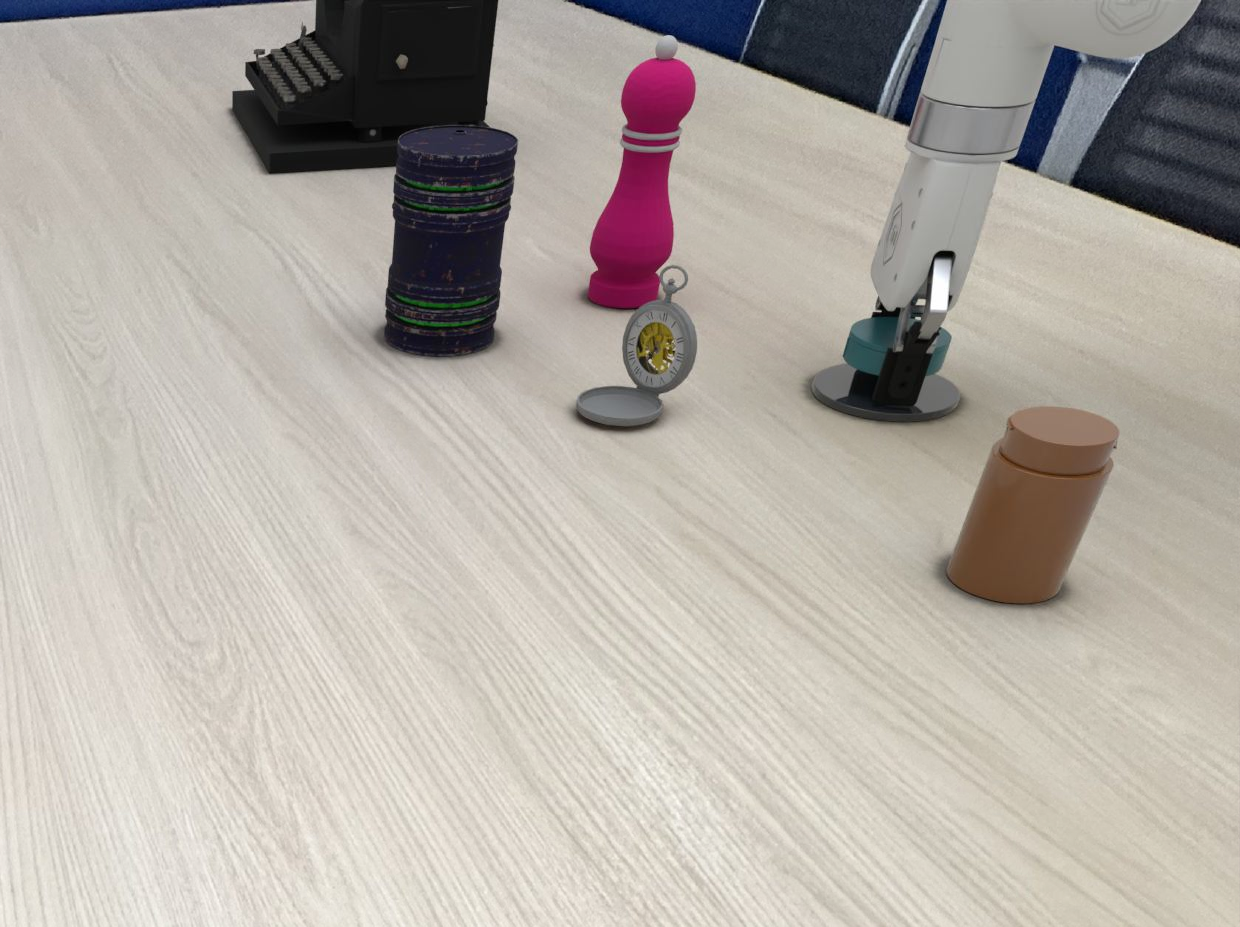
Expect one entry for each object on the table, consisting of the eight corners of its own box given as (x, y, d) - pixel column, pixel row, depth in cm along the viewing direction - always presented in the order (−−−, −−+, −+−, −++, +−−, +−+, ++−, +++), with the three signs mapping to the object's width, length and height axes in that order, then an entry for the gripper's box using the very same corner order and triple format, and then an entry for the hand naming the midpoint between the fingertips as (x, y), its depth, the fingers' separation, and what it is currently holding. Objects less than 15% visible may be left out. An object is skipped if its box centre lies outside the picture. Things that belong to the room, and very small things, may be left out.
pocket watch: (568, 425, 112) (591, 286, 105) (585, 386, 118) (608, 251, 111) (676, 437, 110) (707, 296, 103) (688, 397, 116) (718, 260, 109)
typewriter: (232, 109, 186) (232, -141, 169) (437, 97, 188) (458, -152, 170) (269, 173, 165) (274, -106, 147) (500, 159, 166) (533, -119, 148)
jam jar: (1046, 558, 95) (1111, 406, 88) (1070, 607, 90) (1141, 451, 84) (937, 551, 96) (993, 400, 89) (956, 600, 92) (1016, 445, 85)
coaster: (944, 372, 118) (947, 364, 118) (969, 425, 110) (972, 417, 110) (804, 366, 120) (806, 358, 119) (819, 418, 112) (822, 410, 112)
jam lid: (847, 375, 111) (855, 347, 110) (836, 341, 116) (844, 314, 115) (949, 381, 110) (959, 352, 109) (934, 346, 115) (943, 318, 114)
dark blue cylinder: (492, 359, 123) (517, 158, 112) (377, 354, 124) (390, 155, 113) (497, 319, 129) (521, 125, 119) (388, 314, 131) (402, 123, 120)
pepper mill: (630, 316, 129) (680, 48, 115) (565, 298, 133) (605, 36, 119) (678, 297, 132) (732, 34, 118) (613, 279, 136) (658, 22, 122)
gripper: (893, 95, 108) (823, 343, 121) (932, 157, 97) (850, 425, 109) (999, 97, 107) (917, 347, 120) (1051, 160, 95) (954, 431, 108)
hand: (885, 383), depth 114 cm, fingers closed on jam lid, 7 cm apart
